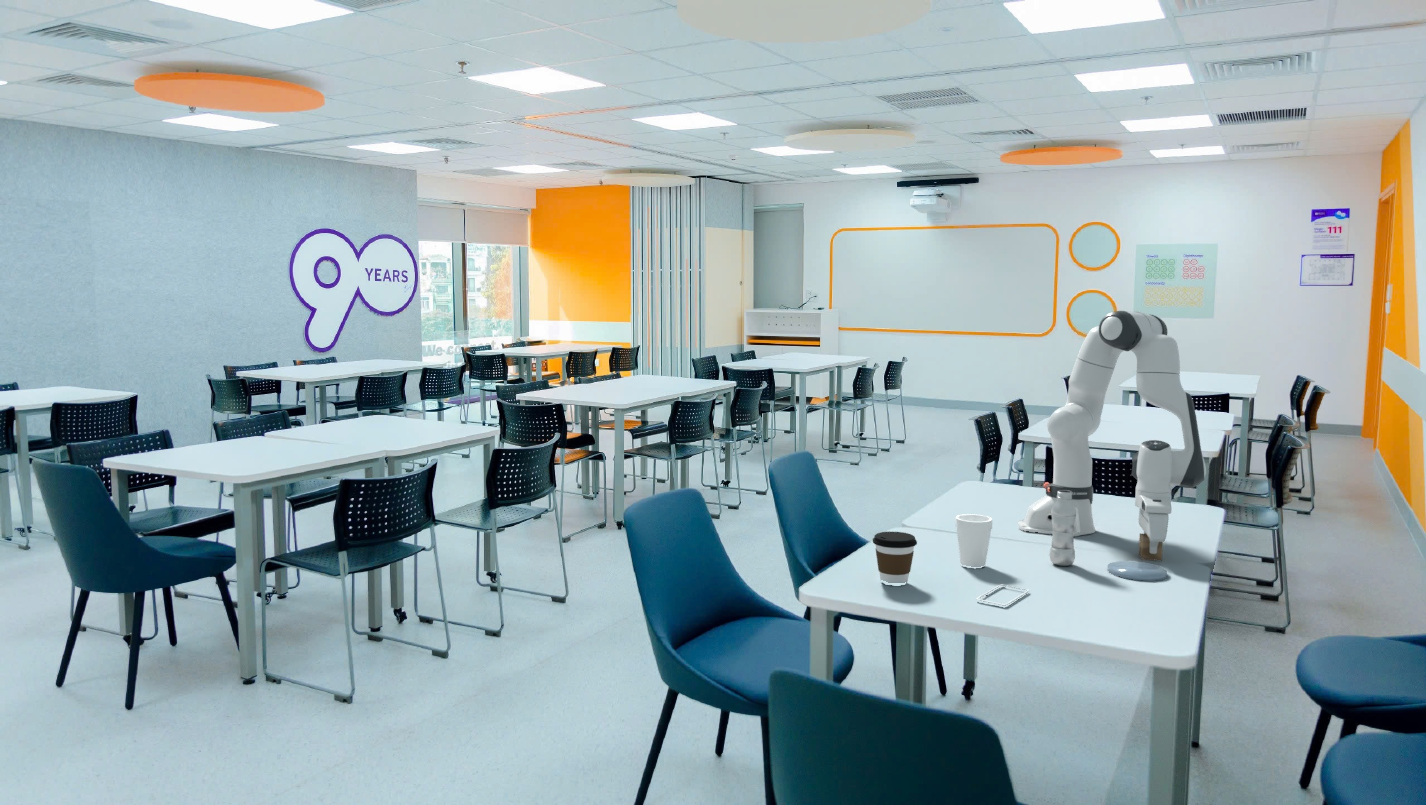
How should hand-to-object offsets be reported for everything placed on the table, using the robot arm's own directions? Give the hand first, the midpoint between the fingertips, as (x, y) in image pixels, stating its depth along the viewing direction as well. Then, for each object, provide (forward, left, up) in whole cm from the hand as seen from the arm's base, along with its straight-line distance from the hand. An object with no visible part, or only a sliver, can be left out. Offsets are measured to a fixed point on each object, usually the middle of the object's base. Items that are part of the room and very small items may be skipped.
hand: (1150, 549), depth 255 cm
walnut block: (0, 0, -2) cm, 2 cm away
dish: (-6, -17, -2) cm, 18 cm away
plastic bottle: (-24, -14, -2) cm, 28 cm away
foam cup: (-47, -21, -2) cm, 52 cm away
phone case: (-40, -47, -3) cm, 62 cm away
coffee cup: (-66, -42, -2) cm, 78 cm away
